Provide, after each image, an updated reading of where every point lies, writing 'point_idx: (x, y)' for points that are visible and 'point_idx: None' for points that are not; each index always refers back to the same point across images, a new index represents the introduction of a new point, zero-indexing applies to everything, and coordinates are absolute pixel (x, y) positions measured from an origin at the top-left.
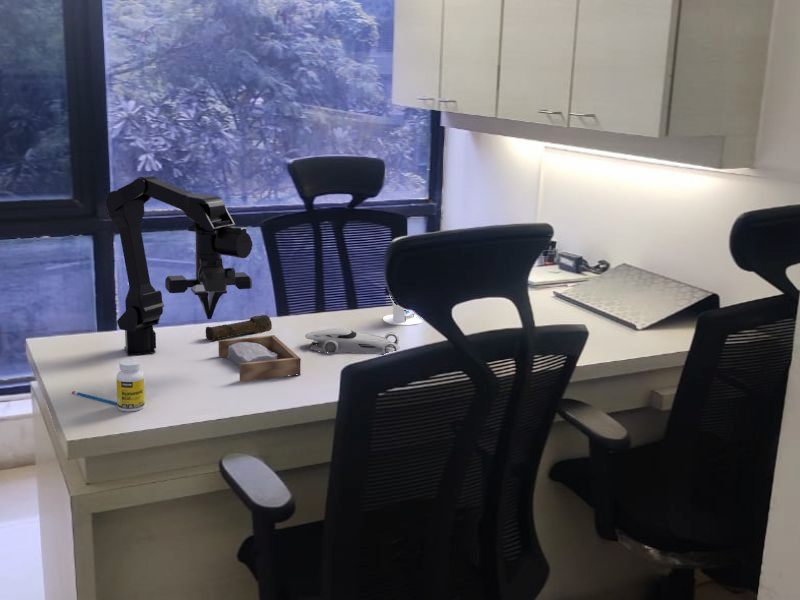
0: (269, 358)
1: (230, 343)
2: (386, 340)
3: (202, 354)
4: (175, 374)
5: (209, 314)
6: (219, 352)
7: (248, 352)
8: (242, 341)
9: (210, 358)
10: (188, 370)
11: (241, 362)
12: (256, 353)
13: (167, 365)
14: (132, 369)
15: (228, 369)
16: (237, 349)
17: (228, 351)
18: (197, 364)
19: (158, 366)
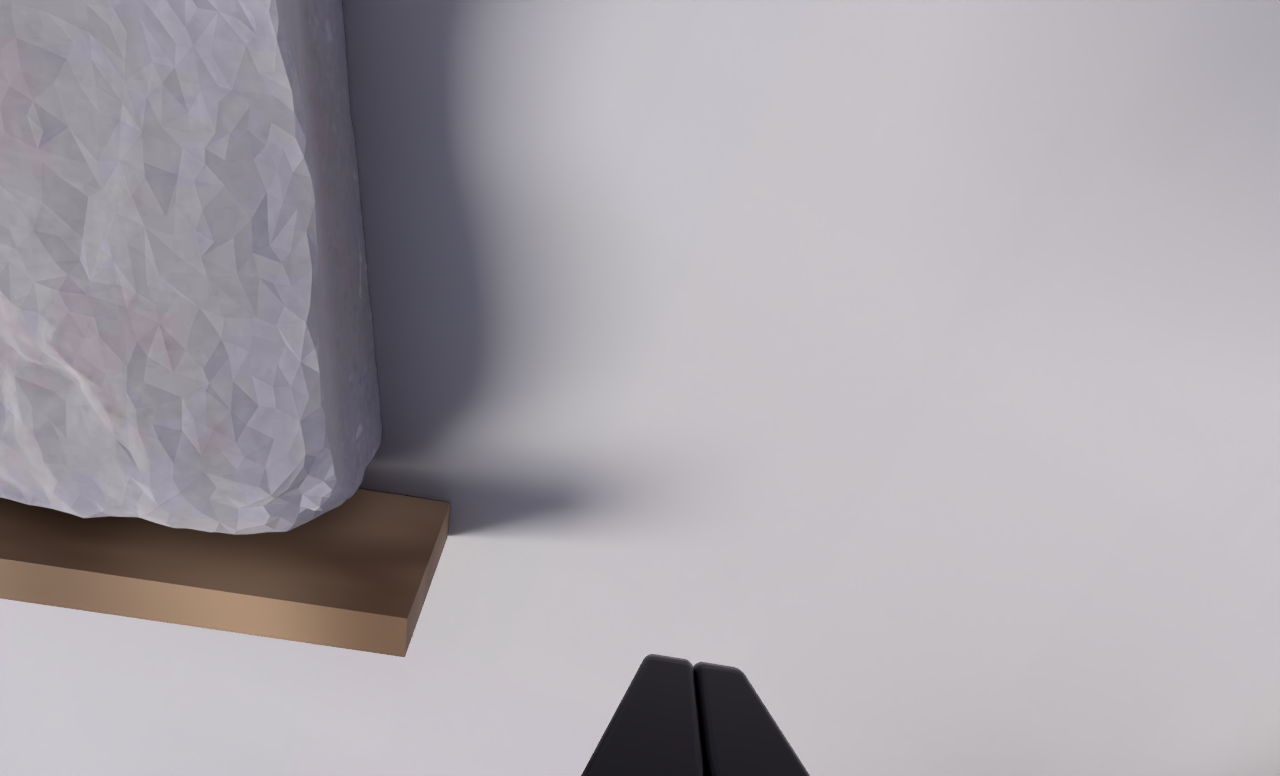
0: None
1: (282, 571)
2: None
3: (570, 639)
4: (1117, 217)
5: (716, 748)
6: (438, 537)
7: (144, 166)
8: (125, 556)
9: (547, 513)
10: (923, 276)
11: (320, 41)
12: (37, 81)
13: (1011, 512)
14: None
15: (508, 83)
16: (264, 329)
17: (357, 462)
18: (744, 409)
19: (1098, 524)
